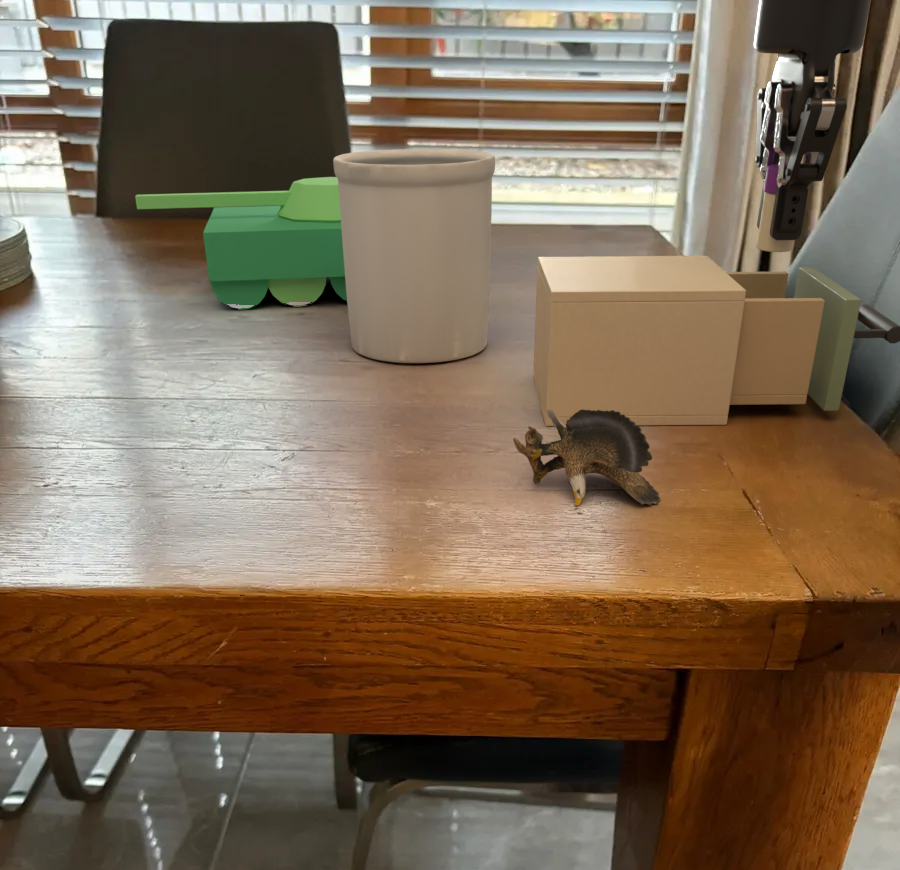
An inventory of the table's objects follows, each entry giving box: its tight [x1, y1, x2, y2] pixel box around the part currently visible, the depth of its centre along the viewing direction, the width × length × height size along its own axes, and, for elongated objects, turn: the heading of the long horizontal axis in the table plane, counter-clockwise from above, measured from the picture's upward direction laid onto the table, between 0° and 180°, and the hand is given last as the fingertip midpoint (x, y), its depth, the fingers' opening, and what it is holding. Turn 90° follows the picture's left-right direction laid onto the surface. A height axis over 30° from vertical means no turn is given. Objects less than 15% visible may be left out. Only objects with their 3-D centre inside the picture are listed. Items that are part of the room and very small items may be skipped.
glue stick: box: [756, 164, 795, 253], centre depth 76 cm, size 3×3×6 cm
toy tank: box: [134, 176, 347, 311], centre depth 115 cm, size 18×12×35 cm
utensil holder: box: [332, 148, 496, 364], centre depth 94 cm, size 15×15×18 cm
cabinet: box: [532, 255, 746, 427], centre depth 81 cm, size 15×13×11 cm
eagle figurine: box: [512, 409, 662, 507], centre depth 66 cm, size 8×7×9 cm
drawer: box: [725, 266, 900, 412], centre depth 81 cm, size 18×11×9 cm, turn 90°
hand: (777, 233), depth 77 cm, fingers closed on glue stick, 3 cm apart
